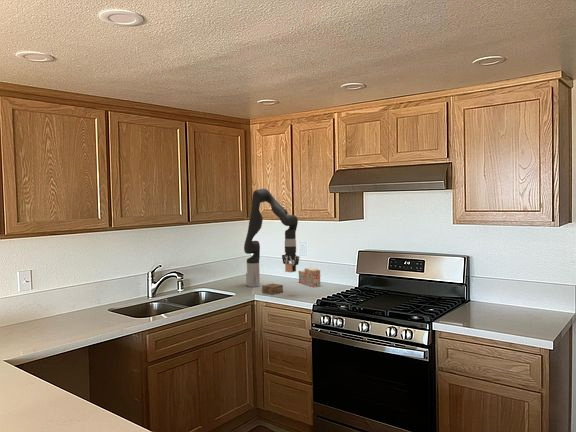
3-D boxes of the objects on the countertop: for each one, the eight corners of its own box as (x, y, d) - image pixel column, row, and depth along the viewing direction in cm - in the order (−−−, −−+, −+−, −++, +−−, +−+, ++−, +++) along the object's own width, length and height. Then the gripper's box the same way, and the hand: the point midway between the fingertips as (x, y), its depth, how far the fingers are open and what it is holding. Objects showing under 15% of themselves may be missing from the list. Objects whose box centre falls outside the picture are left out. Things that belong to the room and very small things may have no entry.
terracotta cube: (285, 271, 322) (285, 264, 321) (290, 270, 325) (290, 263, 325) (291, 272, 318) (290, 264, 318) (296, 271, 322) (295, 263, 322)
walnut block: (262, 292, 332) (262, 285, 332) (272, 290, 339) (272, 283, 339) (272, 294, 325) (272, 287, 325) (283, 292, 333) (282, 285, 332)
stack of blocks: (298, 282, 367) (298, 266, 367) (305, 282, 370) (305, 266, 370) (313, 287, 348) (312, 270, 348) (320, 286, 351) (320, 269, 351)
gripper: (278, 245, 323) (278, 270, 324) (294, 246, 313) (295, 272, 314) (286, 244, 328) (286, 269, 329) (302, 245, 319) (302, 271, 320)
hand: (290, 270), depth 322 cm, fingers closed on terracotta cube, 5 cm apart
